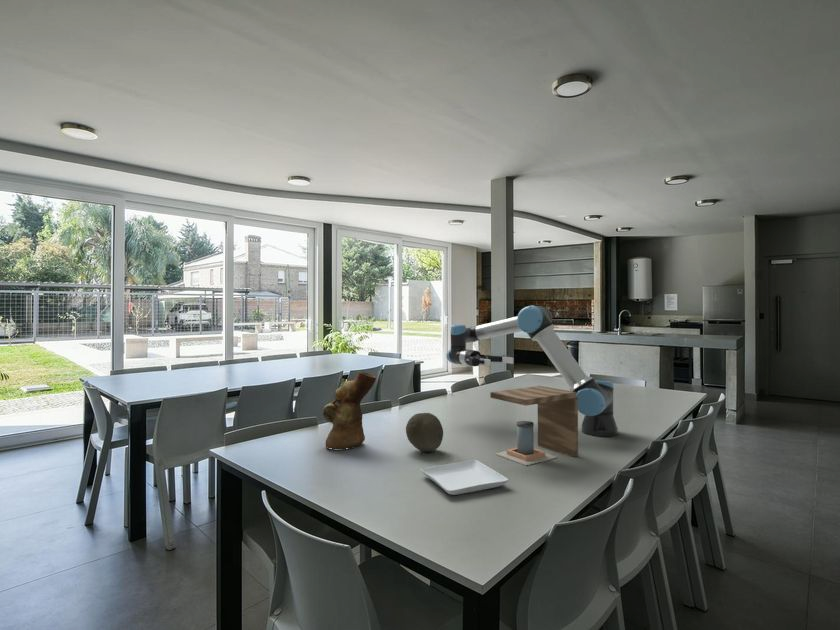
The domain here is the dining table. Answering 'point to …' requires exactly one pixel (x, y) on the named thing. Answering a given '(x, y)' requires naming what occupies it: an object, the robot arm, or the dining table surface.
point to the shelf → (550, 415)
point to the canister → (525, 437)
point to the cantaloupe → (424, 432)
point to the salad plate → (464, 477)
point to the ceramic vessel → (348, 412)
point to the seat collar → (526, 456)
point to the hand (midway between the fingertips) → (501, 361)
